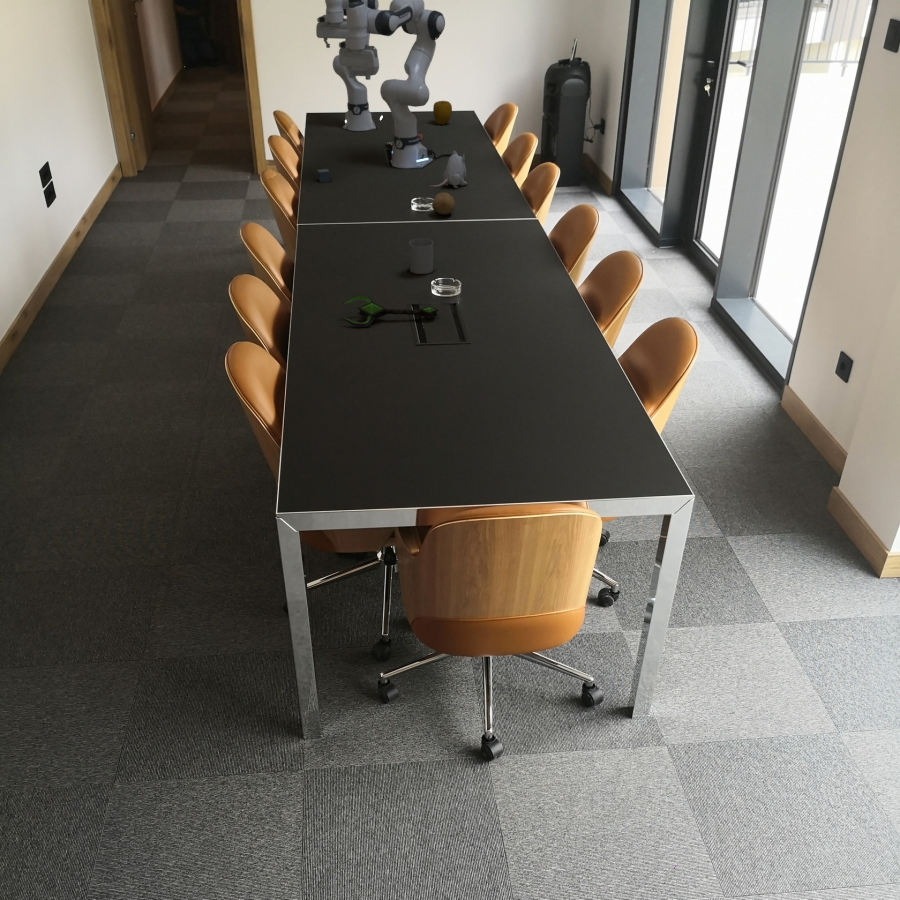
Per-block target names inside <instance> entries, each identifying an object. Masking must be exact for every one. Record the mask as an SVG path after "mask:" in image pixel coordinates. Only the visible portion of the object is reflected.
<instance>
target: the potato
mask: <svg viewBox="0 0 900 900" xmlns="http://www.w3.org/2000/svg"><path fill="white" fill-rule="evenodd" d="M455 206H456V200H455V198H454V196H452V195H451V194H449V193H448V192H439V193H437V194H436V195H435V197H434V198H433V200H432V201H431V207H432V209H433V210H434V212H436V213H437V214H439V215H441V216H442V215H449V214H450V213H452V212H453V211H454V209H455Z"/></svg>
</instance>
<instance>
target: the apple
mask: <svg viewBox="0 0 900 900" xmlns="http://www.w3.org/2000/svg"><path fill="white" fill-rule="evenodd" d="M432 112H433V113H432V114H433V118H434V121H435V122H436V124H437V125H440V126H441V125H445V124H448V123H449V121H450V119H451V117H452V113H453V105H452V103H450V101H448V100H439V101H435V102H434V103H433V109H432Z"/></svg>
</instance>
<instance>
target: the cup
mask: <svg viewBox="0 0 900 900" xmlns="http://www.w3.org/2000/svg"><path fill="white" fill-rule="evenodd" d="M408 253H409V272H411V273H412V274H416V275H426V274H430V273H432V272H434V241H433V240H431V239H428V238H422V237H421V238H420V237H419V238H414V239H411V240H410V241H409V242H408Z"/></svg>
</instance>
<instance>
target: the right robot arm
mask: <svg viewBox="0 0 900 900" xmlns="http://www.w3.org/2000/svg"><path fill="white" fill-rule="evenodd" d="M346 18H347V27H348V40H346V39H344V40H343V41H340V42H338V48H339V50H338V55H339V62H340V64H341V65H342V66H347V71H348V73H349V77H351V78H353V77H354V73H353V72H352V70H351V68H352V67H357V68H365V69H367V71H368V73H367V75H365V76H364V77H365V80H367V81H370V80H371V76H370V75H371V73H372V69H373V70H374V69H378V67H379V68H380V61H379V53H378V49H377V48H376V47H375V45H370V44H369V45H368V34H370V35H378V36H379V35H380V36H384V37H391V36H392V35H393V34H395V32H396V31H397V30H398V29H399V28H401V29H402V31H403V33H405V34H407V35H415V36H416V37H415V38H416V39H415V41H414V43H413V44H412V46H411V47H410V50H409V52H408V54H407V57H406V59H405V61H404V64H403V69H404V72H405V74H406V75H407V79H397V78H391V79H386V80H384V81H383V82H382V83H381V85H380V89H379V90H380V91H379V94H380V96H381V98H382V100H383V101H384V102H385V103H386V105H387V106H388V108H389V111H390V113H391V116H392V120H393V133H394V134H393V138H392V140H393V145H392V148H391V150H392V151H391V160H390V161H389V162H390V164H391V166H392V167H394V168H398V169H416V168H417V169H421V168H424V167H426V166H427V165H428V164H430V163H432V162H433V159H435V160H437V159H440V158H441V157H450V156H451V155H453V154H452V153H445V154H439V155H438V156H437V157H436V152H435V151H434V150H433V149H432V148H430V147H426V146H424V145H423V144H422V143H421V142H420V140H421V139H422V138H423V134H422V133H418V120H417V116H416V115H415V114H413V113H412V111H411V110H410V108H409V107H414V108H416V107H417V108H418V107H424V106H426V105H427V103H428V102H429V99H430V89H429V87H428V86H427V84H426V76H427V73H428V70H429V69H430V65H431V63H432V61H433V58H434V55H435V52H436V48H437V42H436V40H438V39H439V38H440V36H441V35H442V34H443V32H444V30H445V27H446V19H445V16H444V13H442V12H441V11H439V10H435V9H434V10H432V9H425V1H424V0H392V1H391V2H390V3H389V8H388V9H378V10H374V9H370V8H368V7H367V6H366V5H365V3H364V2H361V1H357V2H352V3H350V4H349V5H348V7H347V16H346ZM367 33H368V34H367ZM429 156H433V158H431V157H429Z"/></svg>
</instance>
